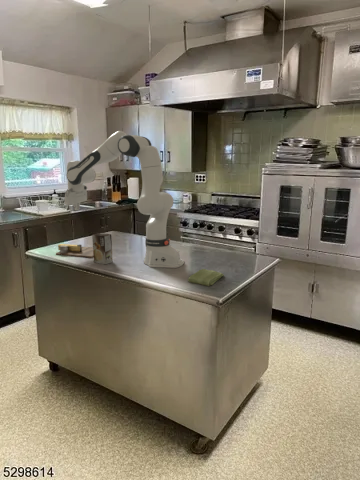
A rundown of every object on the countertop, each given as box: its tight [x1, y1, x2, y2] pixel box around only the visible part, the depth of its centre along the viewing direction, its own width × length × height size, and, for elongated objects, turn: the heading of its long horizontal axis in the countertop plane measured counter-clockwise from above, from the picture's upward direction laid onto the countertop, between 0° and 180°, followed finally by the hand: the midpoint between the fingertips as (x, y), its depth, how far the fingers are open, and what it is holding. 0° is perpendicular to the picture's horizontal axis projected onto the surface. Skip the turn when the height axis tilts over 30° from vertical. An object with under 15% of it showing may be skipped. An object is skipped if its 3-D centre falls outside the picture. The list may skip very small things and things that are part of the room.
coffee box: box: [91, 232, 114, 265], centre depth 200 cm, size 9×6×16 cm
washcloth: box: [187, 268, 225, 287], centre depth 176 cm, size 13×18×3 cm
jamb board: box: [55, 245, 94, 259], centre depth 220 cm, size 24×18×5 cm
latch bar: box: [57, 243, 83, 252], centre depth 219 cm, size 14×3×4 cm, turn 79°
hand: (76, 210), depth 221 cm, fingers closed
